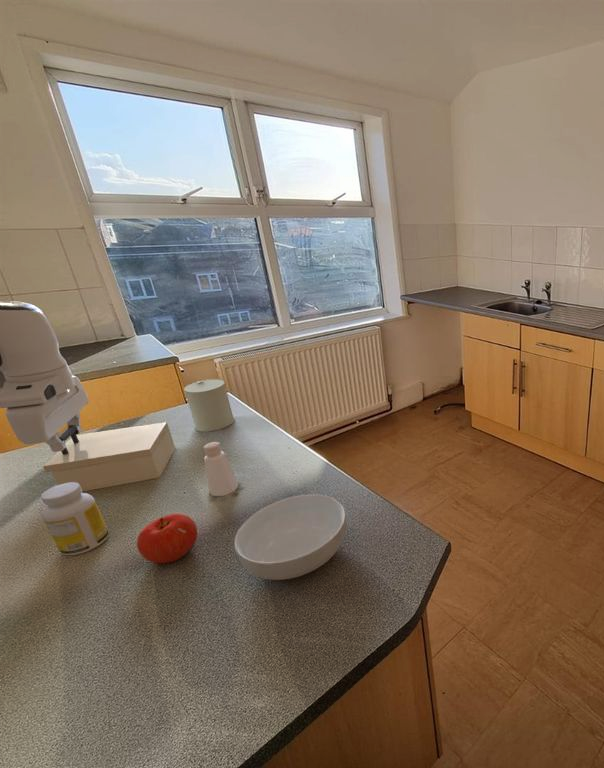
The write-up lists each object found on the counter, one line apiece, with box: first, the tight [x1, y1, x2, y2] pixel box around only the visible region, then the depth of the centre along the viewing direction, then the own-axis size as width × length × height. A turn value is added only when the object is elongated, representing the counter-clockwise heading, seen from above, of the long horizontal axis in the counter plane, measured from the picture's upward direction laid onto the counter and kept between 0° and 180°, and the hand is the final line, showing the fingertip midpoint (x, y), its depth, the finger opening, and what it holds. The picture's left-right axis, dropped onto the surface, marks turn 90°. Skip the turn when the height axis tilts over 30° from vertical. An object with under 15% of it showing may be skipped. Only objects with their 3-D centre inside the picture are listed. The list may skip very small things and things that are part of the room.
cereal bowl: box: [234, 494, 348, 581], centre depth 74 cm, size 17×17×7 cm
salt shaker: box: [203, 441, 240, 497], centre depth 90 cm, size 5×5×11 cm
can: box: [183, 378, 235, 433], centre depth 116 cm, size 9×9×12 cm
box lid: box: [42, 421, 169, 473], centre depth 94 cm, size 17×14×6 cm
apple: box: [136, 513, 198, 564], centre depth 73 cm, size 8×8×8 cm
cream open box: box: [51, 427, 176, 493], centre depth 97 cm, size 17×14×6 cm
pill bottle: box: [40, 482, 110, 556], centre depth 75 cm, size 6×6×12 cm
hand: (68, 441), depth 92 cm, fingers closed on box lid, 6 cm apart
